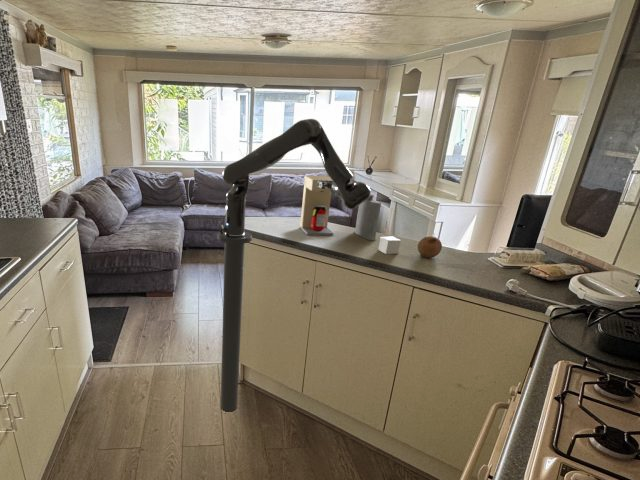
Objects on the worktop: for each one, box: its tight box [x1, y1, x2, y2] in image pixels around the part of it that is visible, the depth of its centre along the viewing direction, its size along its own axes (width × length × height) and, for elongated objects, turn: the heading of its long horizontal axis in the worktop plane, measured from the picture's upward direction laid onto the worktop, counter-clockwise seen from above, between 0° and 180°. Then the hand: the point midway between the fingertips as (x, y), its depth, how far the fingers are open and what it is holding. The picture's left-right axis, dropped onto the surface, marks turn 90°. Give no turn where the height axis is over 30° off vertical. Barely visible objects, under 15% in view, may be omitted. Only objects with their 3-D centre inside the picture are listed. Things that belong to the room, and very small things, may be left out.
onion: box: [417, 235, 443, 259], centre depth 181 cm, size 10×9×10 cm
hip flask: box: [354, 194, 382, 242], centre depth 206 cm, size 16×4×20 cm, turn 15°
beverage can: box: [311, 205, 326, 231], centre depth 210 cm, size 6×6×12 cm
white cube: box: [377, 235, 401, 255], centre depth 186 cm, size 6×6×6 cm
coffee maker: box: [299, 175, 334, 236], centre depth 209 cm, size 14×13×26 cm
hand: (330, 182), depth 192 cm, fingers open, 8 cm apart
